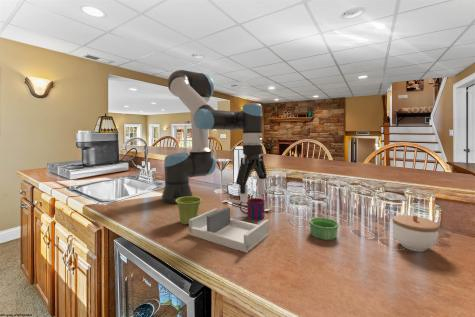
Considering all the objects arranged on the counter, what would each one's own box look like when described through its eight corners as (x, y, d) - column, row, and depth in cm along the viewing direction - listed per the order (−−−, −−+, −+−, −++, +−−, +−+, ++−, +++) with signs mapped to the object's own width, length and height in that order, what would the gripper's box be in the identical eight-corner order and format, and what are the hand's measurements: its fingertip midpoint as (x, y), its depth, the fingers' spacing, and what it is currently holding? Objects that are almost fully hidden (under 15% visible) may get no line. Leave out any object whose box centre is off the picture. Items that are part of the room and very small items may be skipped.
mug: (263, 220, 88) (263, 203, 88) (237, 218, 91) (237, 201, 90) (265, 215, 95) (265, 198, 94) (242, 212, 97) (242, 197, 97)
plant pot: (192, 215, 94) (192, 194, 93) (206, 222, 87) (206, 199, 86) (171, 221, 87) (170, 199, 86) (185, 229, 80) (184, 204, 80)
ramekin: (305, 229, 81) (306, 217, 80) (331, 229, 80) (332, 217, 80) (313, 241, 72) (314, 227, 71) (342, 241, 71) (343, 227, 71)
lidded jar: (447, 255, 63) (450, 221, 62) (410, 256, 62) (413, 223, 61) (414, 237, 74) (416, 209, 73) (382, 239, 73) (384, 210, 72)
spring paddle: (206, 233, 74) (206, 216, 73) (227, 222, 83) (227, 207, 82) (209, 234, 73) (209, 217, 72) (230, 223, 82) (230, 207, 82)
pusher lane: (189, 234, 76) (188, 219, 76) (215, 221, 88) (215, 208, 87) (246, 253, 64) (246, 235, 64) (268, 234, 76) (268, 220, 75)
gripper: (244, 145, 77) (244, 207, 79) (274, 143, 98) (274, 192, 100) (225, 145, 82) (226, 204, 83) (258, 143, 102) (259, 190, 104)
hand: (252, 197), depth 92 cm, fingers open, 13 cm apart
